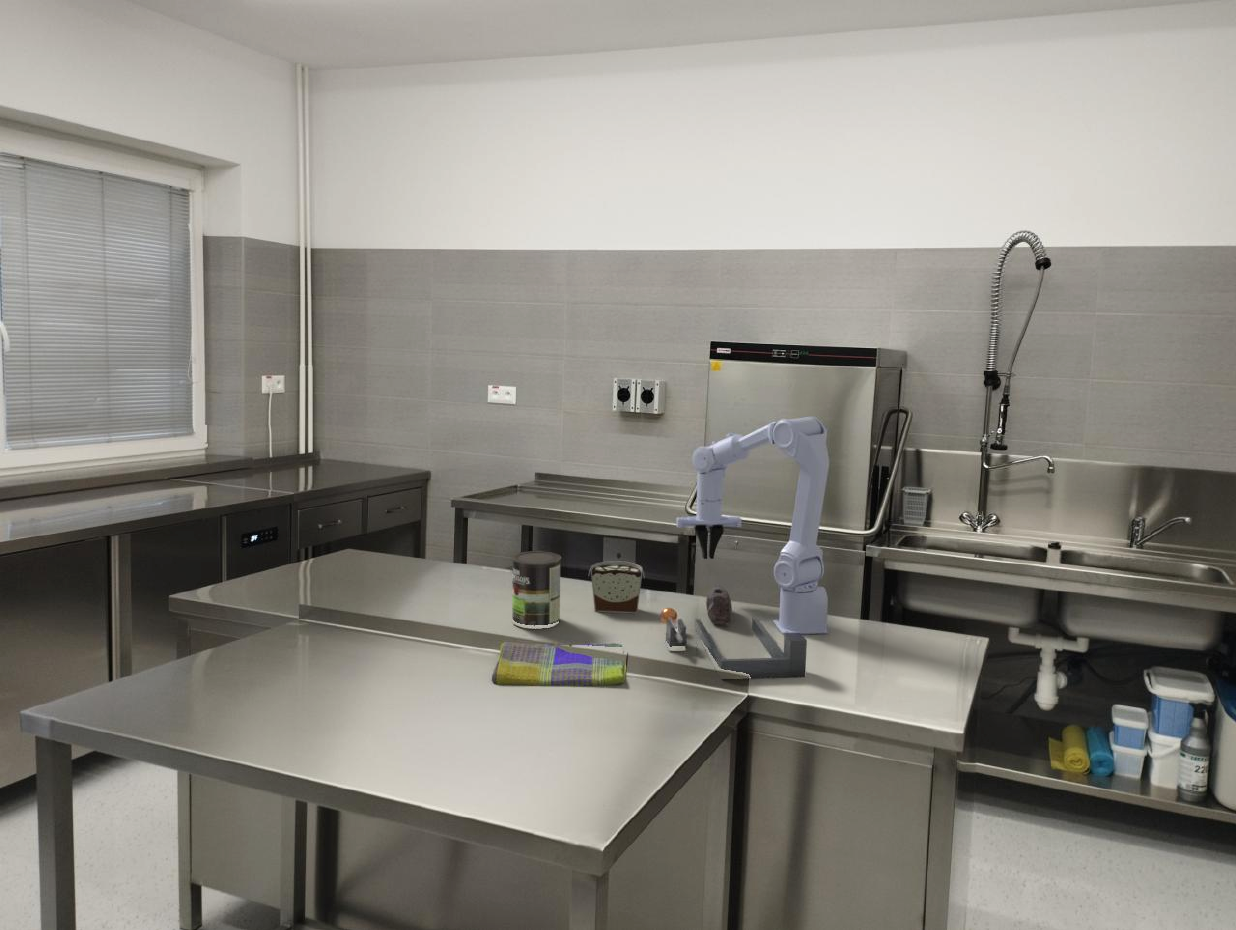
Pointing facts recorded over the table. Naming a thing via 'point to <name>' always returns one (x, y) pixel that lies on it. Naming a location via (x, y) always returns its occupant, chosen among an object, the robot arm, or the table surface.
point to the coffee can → (536, 588)
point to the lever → (672, 615)
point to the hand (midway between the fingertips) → (707, 557)
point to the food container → (616, 586)
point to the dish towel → (554, 667)
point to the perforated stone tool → (719, 605)
